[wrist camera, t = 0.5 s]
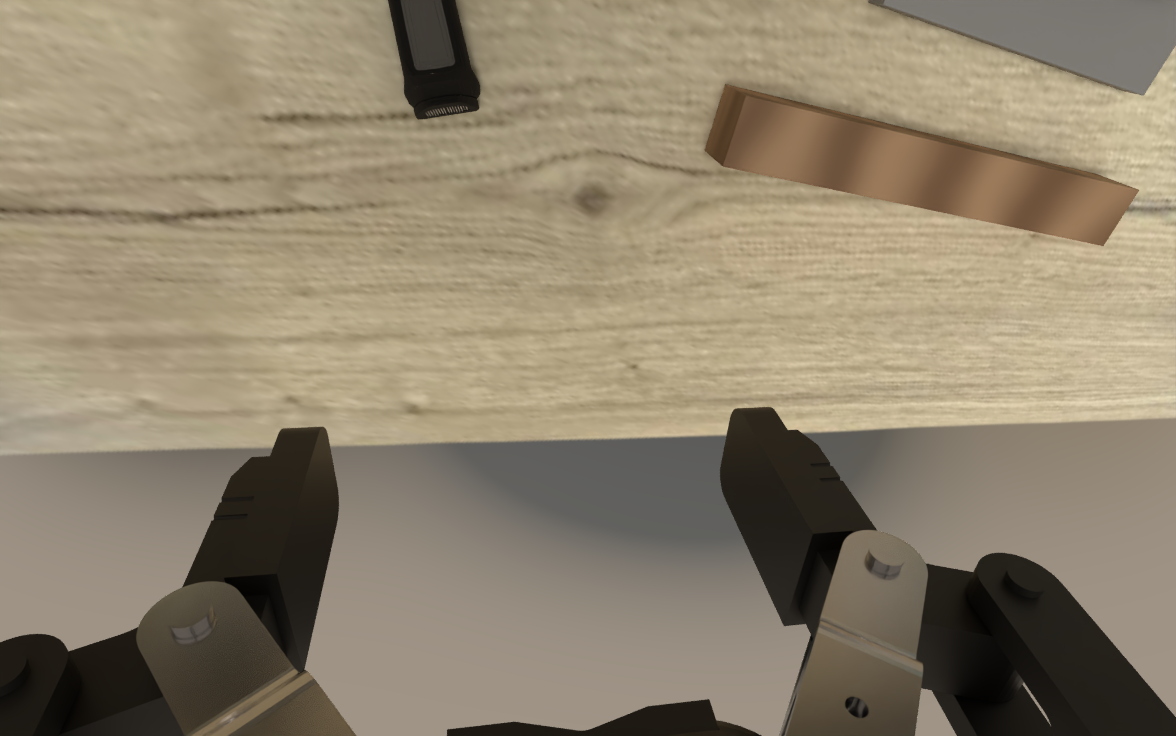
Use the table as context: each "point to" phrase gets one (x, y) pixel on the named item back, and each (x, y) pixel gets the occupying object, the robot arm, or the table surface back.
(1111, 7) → the stand
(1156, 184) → the table surface
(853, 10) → the table surface
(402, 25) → the electric trimmer
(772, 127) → the walnut bar
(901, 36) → the table surface
